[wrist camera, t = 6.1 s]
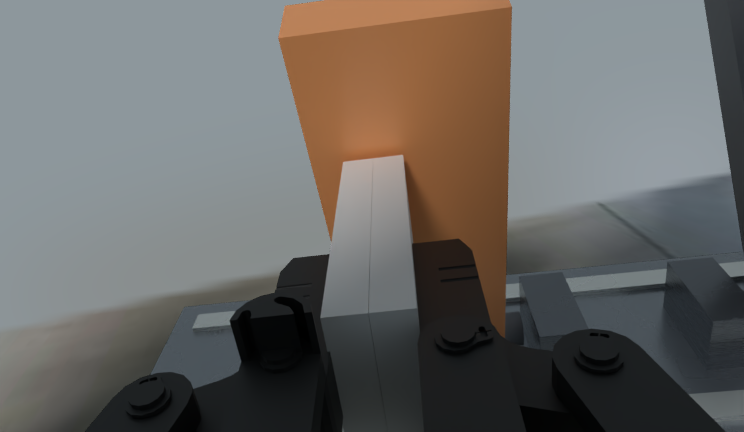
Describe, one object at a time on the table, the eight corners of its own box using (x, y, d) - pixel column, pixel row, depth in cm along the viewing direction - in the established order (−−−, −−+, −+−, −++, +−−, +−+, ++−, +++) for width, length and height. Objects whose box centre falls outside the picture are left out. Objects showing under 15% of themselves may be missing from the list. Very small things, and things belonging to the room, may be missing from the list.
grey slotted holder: (864, 315, 27) (897, 193, 25) (1094, 516, 18) (1186, 359, 16) (206, 374, 30) (172, 269, 27) (129, 576, 21) (66, 449, 18)
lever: (516, 320, 23) (530, -29, 14) (524, 356, 22) (545, 2, 13) (346, 336, 23) (255, 9, 15) (345, 372, 22) (246, 42, 13)
